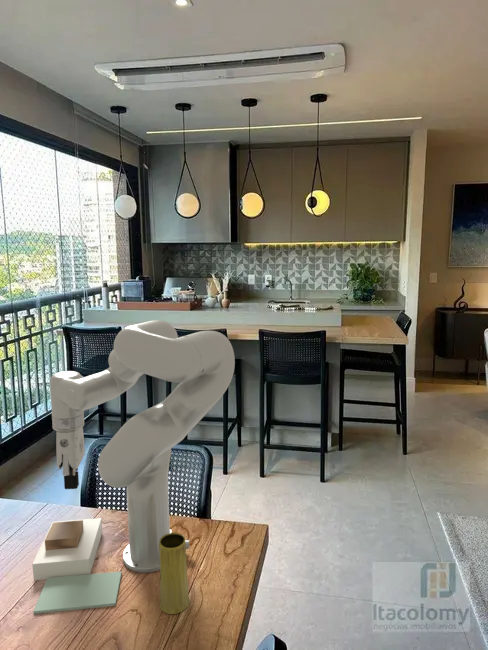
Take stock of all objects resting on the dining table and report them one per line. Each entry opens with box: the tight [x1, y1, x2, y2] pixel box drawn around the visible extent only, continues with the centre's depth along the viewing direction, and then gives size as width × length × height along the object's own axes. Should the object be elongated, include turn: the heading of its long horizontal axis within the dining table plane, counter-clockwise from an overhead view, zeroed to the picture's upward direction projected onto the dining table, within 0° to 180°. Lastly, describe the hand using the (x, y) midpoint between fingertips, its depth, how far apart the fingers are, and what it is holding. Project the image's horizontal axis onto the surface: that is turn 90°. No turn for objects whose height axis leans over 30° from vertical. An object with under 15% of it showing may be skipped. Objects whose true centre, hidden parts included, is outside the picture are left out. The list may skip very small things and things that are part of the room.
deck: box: [31, 517, 103, 581], centre depth 110 cm, size 12×16×4 cm
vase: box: [158, 532, 190, 615], centre depth 94 cm, size 6×6×14 cm
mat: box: [32, 570, 122, 615], centre depth 98 cm, size 16×10×1 cm, turn 97°
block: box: [44, 519, 84, 550], centre depth 109 cm, size 7×7×2 cm
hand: (71, 487), depth 120 cm, fingers closed
